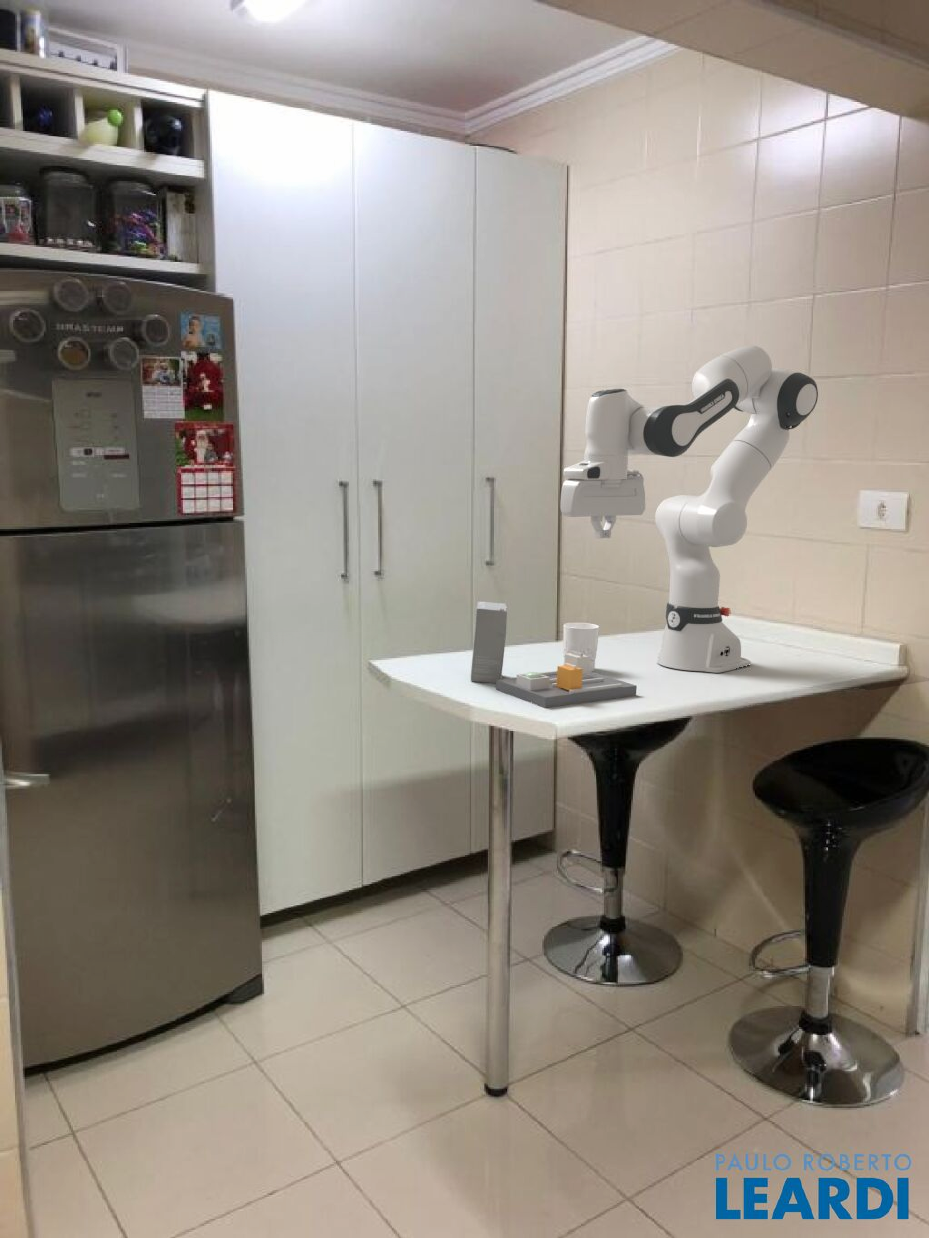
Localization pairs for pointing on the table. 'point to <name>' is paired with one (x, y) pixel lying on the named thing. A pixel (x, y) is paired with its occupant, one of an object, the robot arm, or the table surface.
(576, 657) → the slider
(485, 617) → the skincare box
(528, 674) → the button
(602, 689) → the panel
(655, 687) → the table surface
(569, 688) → the slider
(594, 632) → the white cup
